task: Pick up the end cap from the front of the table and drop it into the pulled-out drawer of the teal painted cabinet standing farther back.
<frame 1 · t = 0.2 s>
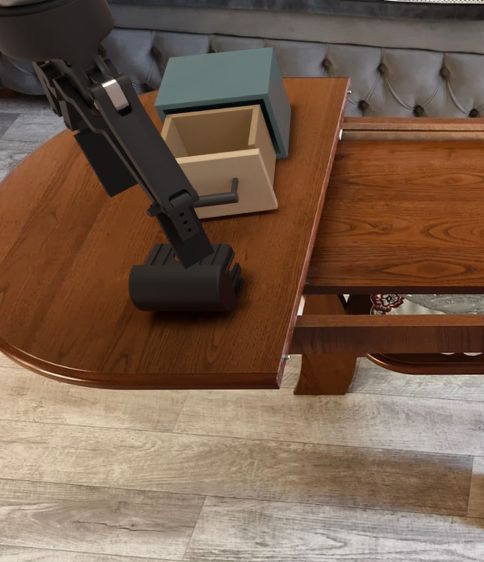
hand: (158, 222, 60), 19 cm above the table, tool pointing down, fingers open, 13 cm apart
drawer: (217, 171, 87), point 5 cm above the table, slide at 11.0 cm
end cap: (200, 303, 79), on the table
cabinet: (239, 138, 101), on the table
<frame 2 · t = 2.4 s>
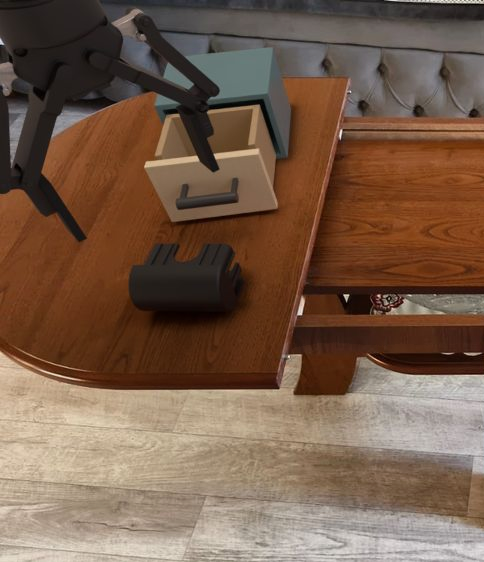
hand: (146, 198, 66), 17 cm above the table, tool pointing down, fingers open, 13 cm apart
nothing on the table moved.
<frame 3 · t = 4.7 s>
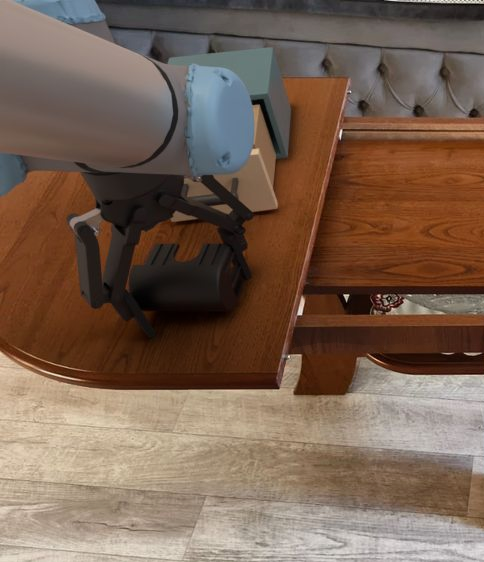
hand: (197, 300, 79), 0 cm above the table, tool pointing down, fingers closed on end cap, 11 cm apart
end cap: (200, 303, 79), on the table, touching gripper
everything else where it was.
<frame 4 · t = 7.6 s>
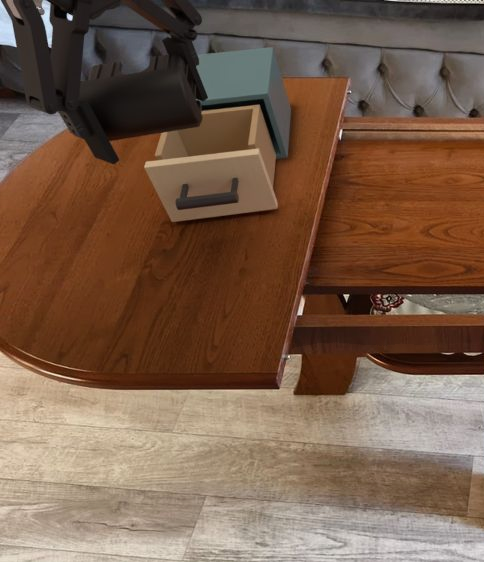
hand: (154, 126, 71), 19 cm above the table, tool pointing down, fingers closed on end cap, 11 cm apart
end cap: (157, 131, 71), point 18 cm above the table, touching gripper
everything else where it was.
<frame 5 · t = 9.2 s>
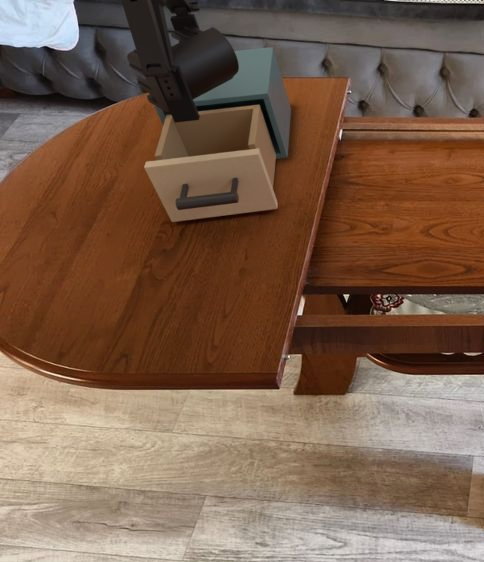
hand: (194, 91, 83), 15 cm above the table, tool pointing down, fingers closed on end cap, 11 cm apart
end cap: (196, 95, 83), point 14 cm above the table, touching gripper
everything else where it was.
when the fingers open (11 cm above the table, at t = 10.5 s): end cap stays where it is, resting on cabinet.
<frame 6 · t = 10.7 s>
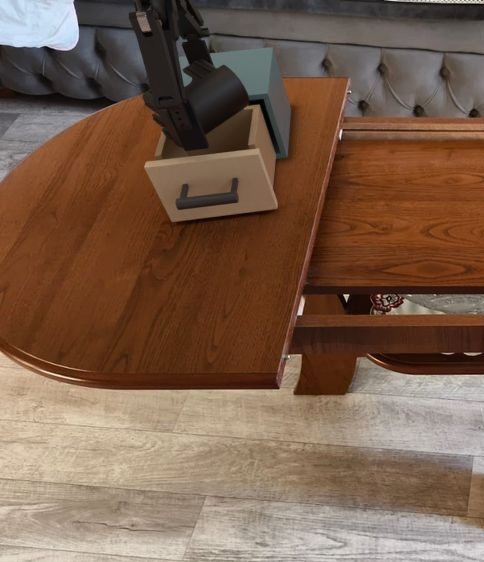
hand: (204, 117, 85), 11 cm above the table, tool pointing down, fingers open, 13 cm apart
end cap: (209, 127, 87), point 10 cm above the table, touching cabinet, gripper
everything else where it was.
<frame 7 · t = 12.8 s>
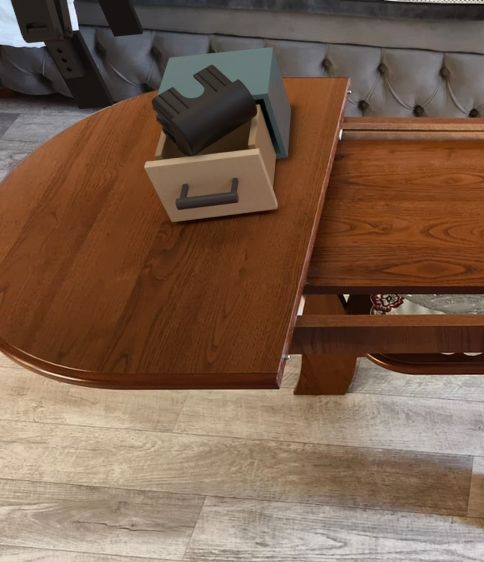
hand: (114, 67, 64), 27 cm above the table, tool pointing down, fingers open, 13 cm apart
drawer: (217, 171, 87), point 5 cm above the table, slide at 11.0 cm, touching end cap
end cap: (210, 131, 87), point 9 cm above the table, touching cabinet, drawer
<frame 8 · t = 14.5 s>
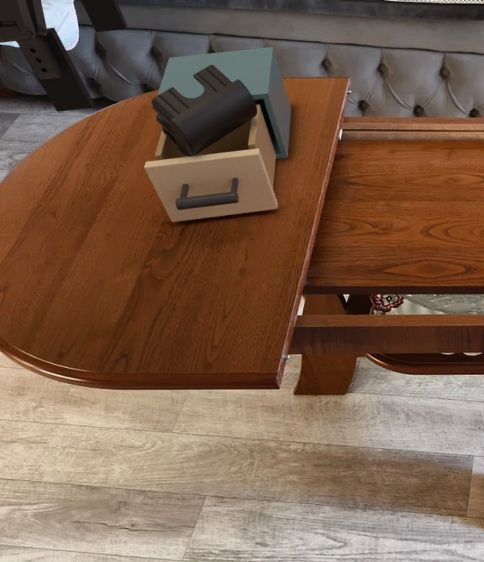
hand: (95, 65, 60), 29 cm above the table, tool pointing down, fingers open, 13 cm apart
nothing on the table moved.
at the end: end cap inside the target area in the drawer (0.2 cm from its centre), point 9.0 cm above the cabinet's base; the gripper is holding nothing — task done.
